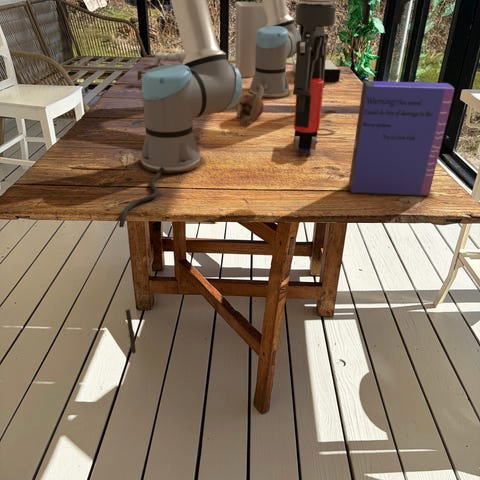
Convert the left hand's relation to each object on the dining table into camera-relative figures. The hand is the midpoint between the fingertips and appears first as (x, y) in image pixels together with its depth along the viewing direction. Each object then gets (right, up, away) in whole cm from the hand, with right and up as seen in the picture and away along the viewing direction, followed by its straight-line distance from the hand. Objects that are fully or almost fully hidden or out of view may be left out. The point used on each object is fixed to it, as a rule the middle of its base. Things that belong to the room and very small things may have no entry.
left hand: (306, 122), depth 103 cm
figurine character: (+4, 0, +31) cm, 31 cm away
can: (0, -1, +1) cm, 1 cm away
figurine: (-41, +39, +94) cm, 109 cm away
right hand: (+36, +52, +68) cm, 93 cm away
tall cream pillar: (-8, +51, +115) cm, 126 cm away
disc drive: (+19, +48, +110) cm, 122 cm away
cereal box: (+20, -14, +8) cm, 26 cm away
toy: (-39, +57, +123) cm, 141 cm away
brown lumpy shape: (-12, +13, +52) cm, 55 cm away
